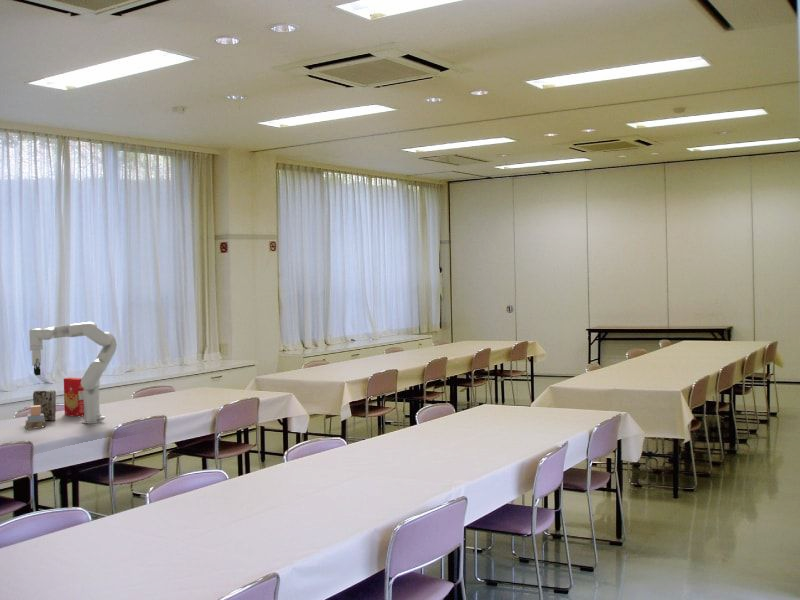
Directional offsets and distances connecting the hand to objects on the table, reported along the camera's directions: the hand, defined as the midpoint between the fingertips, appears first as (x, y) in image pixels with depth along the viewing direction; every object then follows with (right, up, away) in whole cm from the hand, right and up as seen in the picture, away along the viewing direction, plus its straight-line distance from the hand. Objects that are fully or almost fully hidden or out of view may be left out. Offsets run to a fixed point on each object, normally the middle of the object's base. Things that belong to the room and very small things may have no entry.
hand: (37, 374), depth 520 cm
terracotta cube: (+2, -25, -6) cm, 26 cm away
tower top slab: (+2, -29, -5) cm, 30 cm away
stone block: (-2, -32, +15) cm, 36 cm away
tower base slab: (+1, -33, -5) cm, 34 cm away
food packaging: (+11, -31, +34) cm, 47 cm away
